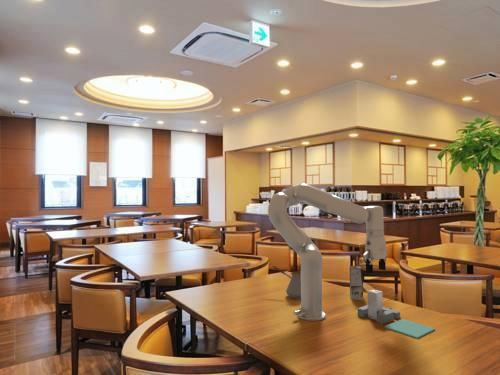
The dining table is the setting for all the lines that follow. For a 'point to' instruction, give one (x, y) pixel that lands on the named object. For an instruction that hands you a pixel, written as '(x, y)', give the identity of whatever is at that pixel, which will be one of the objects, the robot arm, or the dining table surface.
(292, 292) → the coffee pot
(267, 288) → the dining table surface
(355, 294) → the coffee box
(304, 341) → the dining table surface
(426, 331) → the mat
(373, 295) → the steel bar
